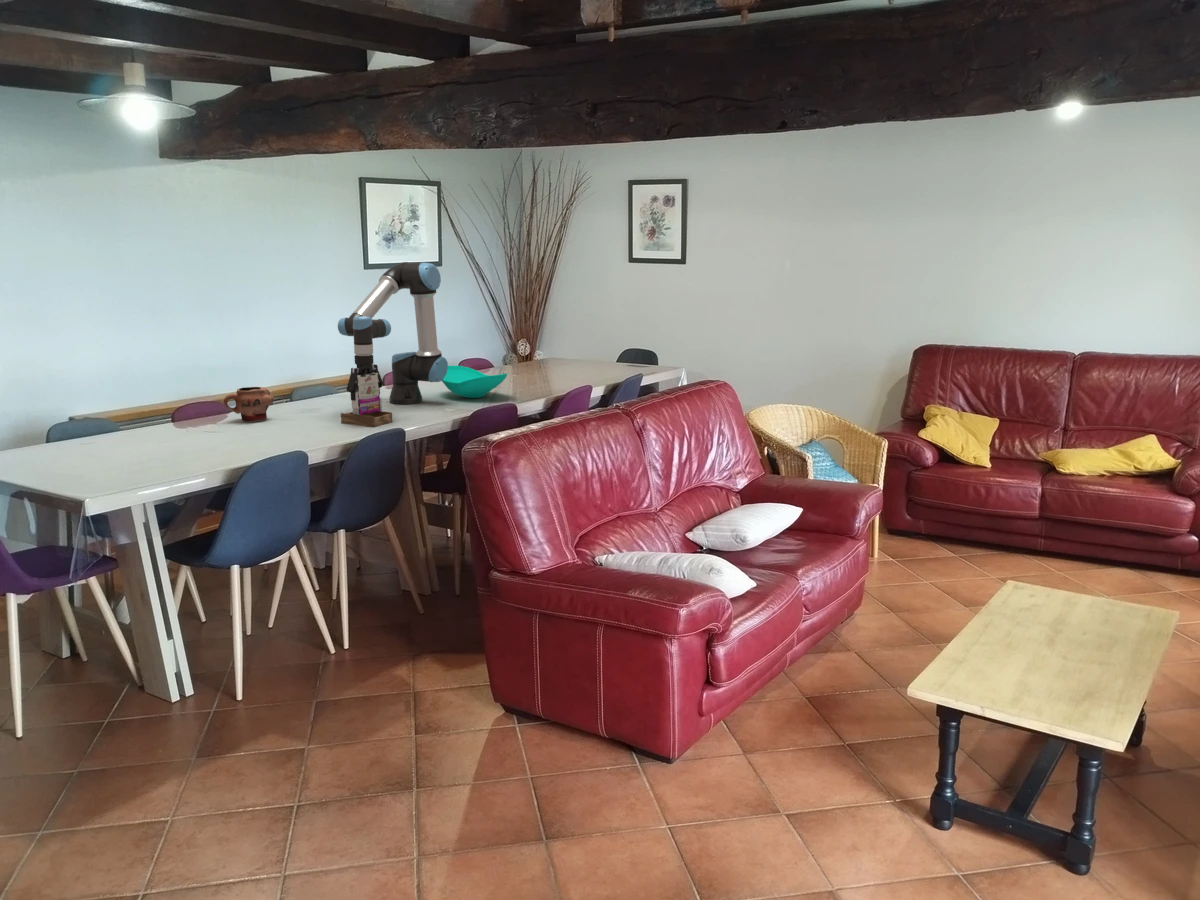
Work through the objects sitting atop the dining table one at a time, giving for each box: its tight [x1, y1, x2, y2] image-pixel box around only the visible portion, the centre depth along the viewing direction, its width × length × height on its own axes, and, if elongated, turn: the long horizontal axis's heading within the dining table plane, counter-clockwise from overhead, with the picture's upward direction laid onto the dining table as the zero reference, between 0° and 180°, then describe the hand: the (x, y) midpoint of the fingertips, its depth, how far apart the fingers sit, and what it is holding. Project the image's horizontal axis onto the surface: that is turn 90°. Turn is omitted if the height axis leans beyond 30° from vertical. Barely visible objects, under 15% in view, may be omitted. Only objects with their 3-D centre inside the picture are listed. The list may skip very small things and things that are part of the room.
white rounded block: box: [380, 397, 383, 411], centre depth 395 cm, size 6×6×8 cm
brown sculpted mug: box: [223, 386, 275, 423], centre depth 382 cm, size 20×12×14 cm, turn 132°
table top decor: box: [441, 365, 508, 399], centre depth 444 cm, size 40×28×13 cm
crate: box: [340, 410, 393, 428], centre depth 383 cm, size 12×17×4 cm
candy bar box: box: [351, 372, 381, 415], centre depth 381 cm, size 11×5×16 cm, turn 143°
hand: (366, 405), depth 382 cm, fingers open, 13 cm apart
